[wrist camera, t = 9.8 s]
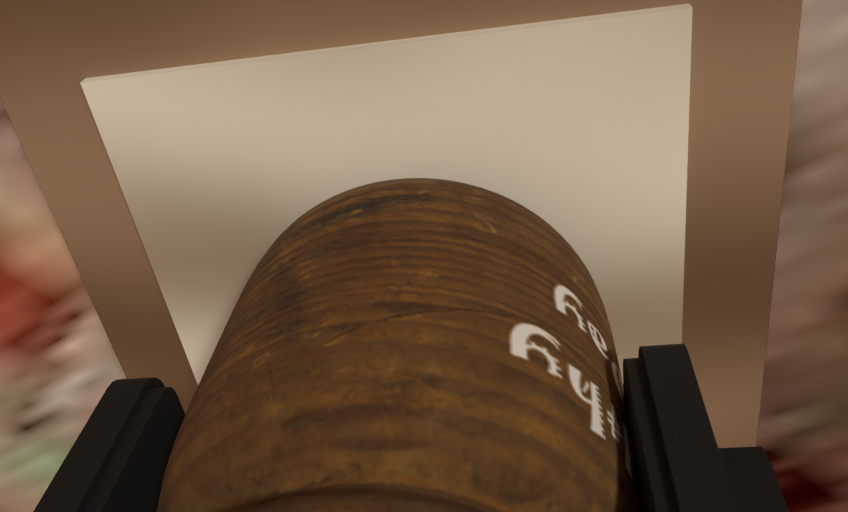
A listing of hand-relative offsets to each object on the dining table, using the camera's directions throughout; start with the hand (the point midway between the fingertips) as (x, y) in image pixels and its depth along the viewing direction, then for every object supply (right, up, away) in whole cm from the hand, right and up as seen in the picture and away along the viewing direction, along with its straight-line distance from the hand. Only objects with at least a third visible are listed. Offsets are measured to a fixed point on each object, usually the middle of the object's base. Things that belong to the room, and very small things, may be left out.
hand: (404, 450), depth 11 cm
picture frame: (0, +4, +6) cm, 7 cm away
